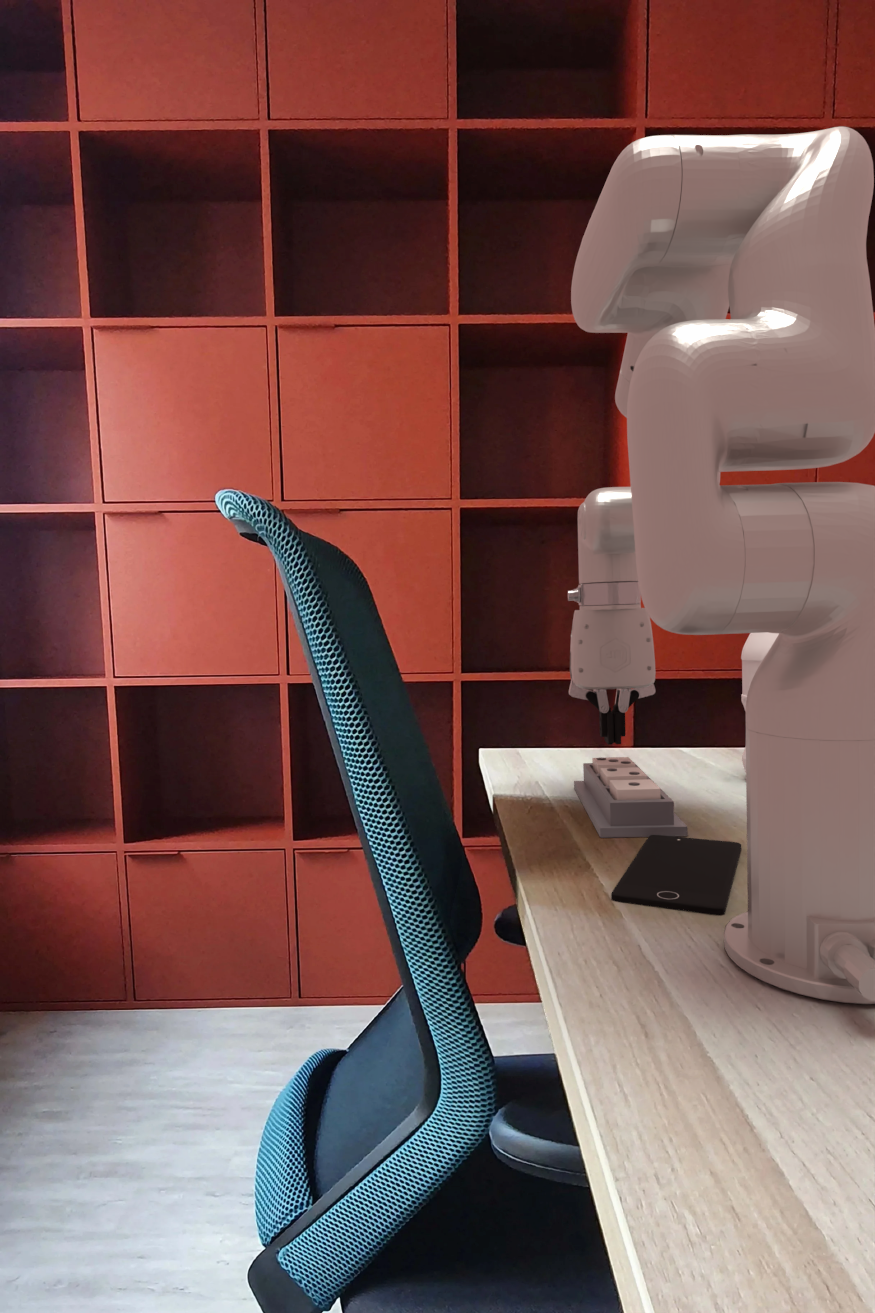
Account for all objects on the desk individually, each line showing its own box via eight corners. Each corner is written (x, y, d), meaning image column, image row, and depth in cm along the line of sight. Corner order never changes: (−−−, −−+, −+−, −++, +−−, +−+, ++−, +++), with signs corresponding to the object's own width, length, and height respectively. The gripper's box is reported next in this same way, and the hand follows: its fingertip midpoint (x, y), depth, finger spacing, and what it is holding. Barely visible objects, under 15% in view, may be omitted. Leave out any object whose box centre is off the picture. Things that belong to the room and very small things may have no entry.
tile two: (647, 792, 88) (646, 774, 88) (607, 793, 88) (606, 775, 88) (638, 783, 92) (638, 766, 92) (600, 784, 93) (600, 767, 92)
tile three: (635, 780, 94) (635, 763, 94) (598, 781, 95) (597, 764, 94) (628, 772, 99) (628, 756, 99) (592, 773, 99) (592, 757, 99)
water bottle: (789, 774, 105) (788, 593, 104) (809, 786, 98) (808, 592, 97) (735, 775, 106) (733, 595, 104) (751, 787, 99) (749, 594, 97)
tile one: (660, 807, 81) (660, 788, 81) (617, 808, 82) (616, 789, 81) (651, 796, 86) (650, 778, 86) (609, 797, 86) (609, 779, 86)
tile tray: (687, 836, 79) (687, 802, 79) (600, 837, 80) (599, 804, 79) (642, 786, 101) (641, 760, 101) (574, 788, 102) (573, 762, 101)
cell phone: (610, 905, 63) (609, 894, 63) (650, 842, 79) (650, 833, 79) (724, 921, 59) (724, 909, 59) (741, 851, 75) (741, 842, 75)
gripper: (552, 599, 92) (556, 749, 93) (678, 595, 91) (680, 746, 92) (547, 600, 100) (550, 739, 101) (662, 596, 99) (665, 736, 100)
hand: (612, 742), depth 97 cm, fingers closed
